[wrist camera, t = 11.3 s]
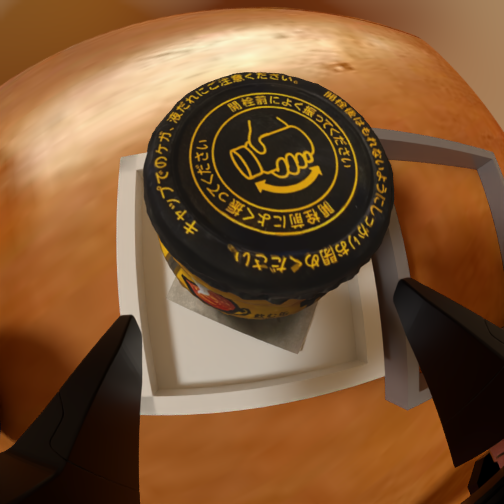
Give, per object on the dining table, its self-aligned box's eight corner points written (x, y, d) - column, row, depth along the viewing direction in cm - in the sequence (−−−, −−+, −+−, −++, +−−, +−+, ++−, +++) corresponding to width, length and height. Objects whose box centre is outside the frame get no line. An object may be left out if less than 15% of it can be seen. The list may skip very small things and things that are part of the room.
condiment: (216, 193, 17) (207, 27, 5) (337, 246, 17) (475, 153, 5) (166, 298, 15) (34, 266, 4) (296, 353, 15) (429, 426, 4)
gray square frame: (512, 328, 18) (530, 327, 15) (385, 399, 16) (407, 410, 13) (477, 162, 22) (493, 152, 19) (342, 147, 20) (356, 126, 17)
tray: (366, 369, 16) (384, 375, 14) (148, 402, 15) (137, 414, 12) (329, 157, 20) (340, 139, 17) (131, 174, 18) (120, 157, 16)
